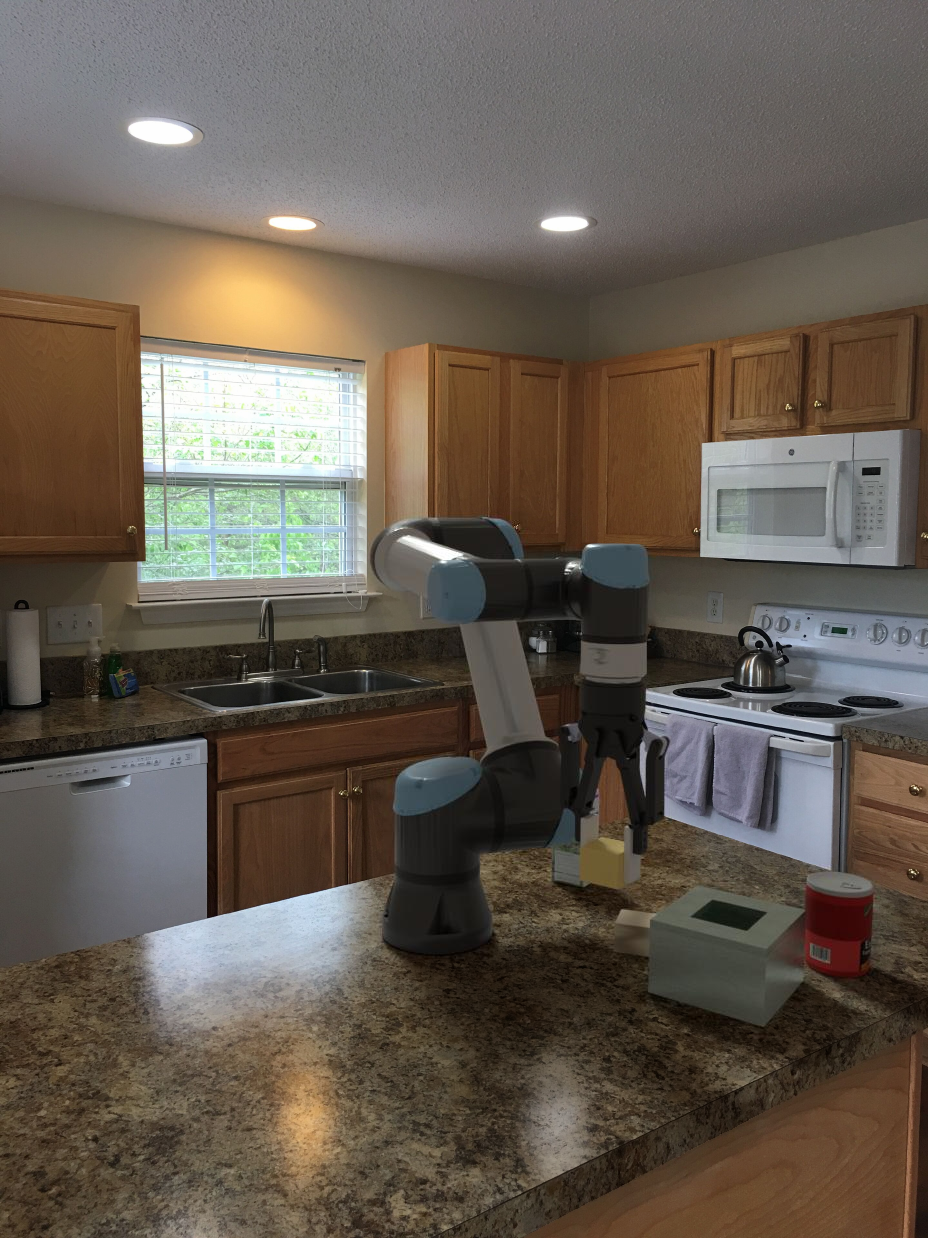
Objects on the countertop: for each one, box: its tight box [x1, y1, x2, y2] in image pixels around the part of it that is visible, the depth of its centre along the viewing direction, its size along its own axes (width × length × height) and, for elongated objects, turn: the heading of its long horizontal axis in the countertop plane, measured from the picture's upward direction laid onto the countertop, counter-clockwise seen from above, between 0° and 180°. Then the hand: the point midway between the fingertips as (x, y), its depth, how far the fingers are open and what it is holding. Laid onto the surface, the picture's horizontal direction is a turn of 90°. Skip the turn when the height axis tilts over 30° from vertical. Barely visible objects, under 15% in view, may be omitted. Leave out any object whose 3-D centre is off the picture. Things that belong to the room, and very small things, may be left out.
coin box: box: [647, 885, 806, 1028], centre depth 121 cm, size 14×14×9 cm
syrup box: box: [551, 788, 600, 888], centre depth 157 cm, size 6×6×14 cm
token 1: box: [580, 836, 628, 890], centre depth 117 cm, size 5×5×4 cm
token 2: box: [613, 908, 658, 958], centre depth 132 cm, size 5×5×4 cm
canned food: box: [804, 871, 875, 979], centre depth 127 cm, size 8×8×11 cm
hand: (609, 874), depth 117 cm, fingers closed on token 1, 5 cm apart
